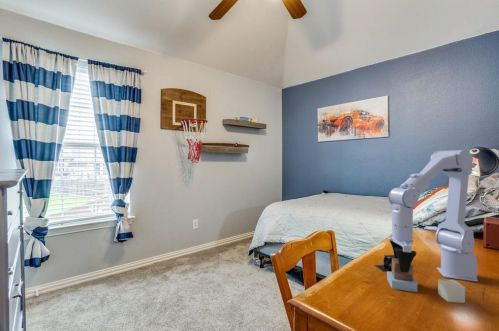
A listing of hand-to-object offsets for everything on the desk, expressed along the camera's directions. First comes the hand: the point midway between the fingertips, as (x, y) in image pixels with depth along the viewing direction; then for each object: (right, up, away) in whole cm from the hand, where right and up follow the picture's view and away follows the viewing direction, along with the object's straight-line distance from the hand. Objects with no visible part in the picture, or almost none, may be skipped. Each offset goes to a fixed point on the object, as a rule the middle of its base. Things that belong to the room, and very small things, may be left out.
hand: (401, 267), depth 83 cm
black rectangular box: (+4, -6, +13) cm, 15 cm away
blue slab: (0, -6, 0) cm, 6 cm away
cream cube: (+10, -6, -8) cm, 14 cm away
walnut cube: (0, -3, 0) cm, 3 cm away
